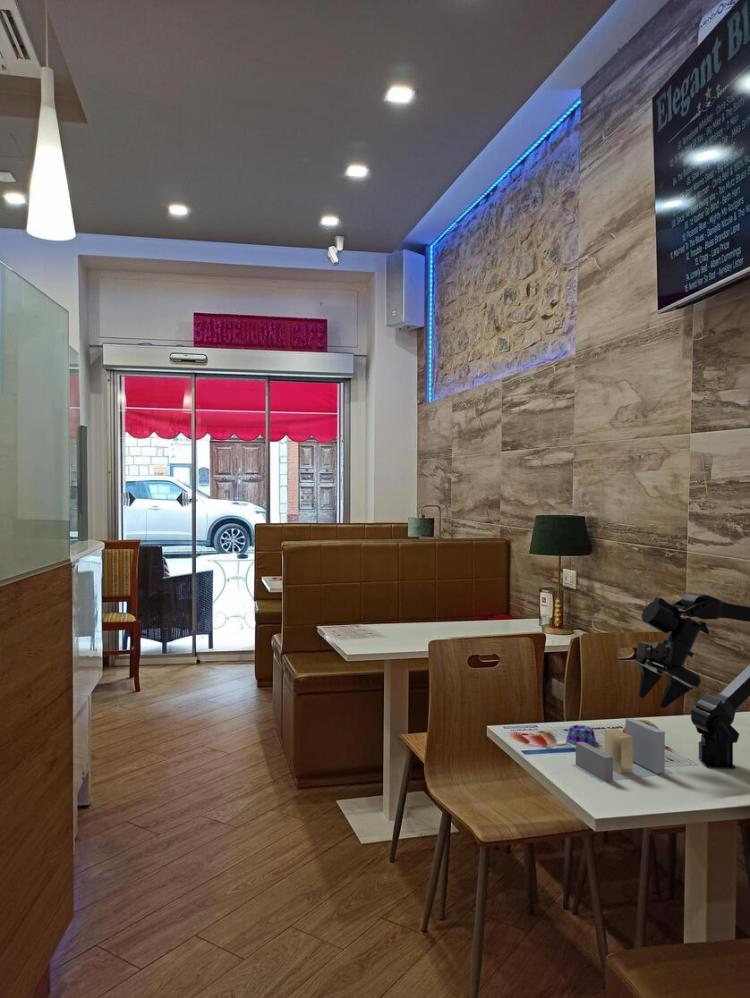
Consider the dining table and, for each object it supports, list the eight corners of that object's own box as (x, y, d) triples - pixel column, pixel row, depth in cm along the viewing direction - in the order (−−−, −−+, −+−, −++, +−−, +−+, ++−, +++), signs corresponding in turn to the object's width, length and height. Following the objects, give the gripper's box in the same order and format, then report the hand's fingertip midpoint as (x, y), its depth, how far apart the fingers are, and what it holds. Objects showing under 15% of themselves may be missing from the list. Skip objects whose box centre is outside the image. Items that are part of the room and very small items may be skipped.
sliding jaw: (632, 756, 174) (632, 718, 175) (664, 772, 164) (664, 731, 164) (625, 757, 174) (625, 719, 174) (657, 773, 163) (657, 732, 164)
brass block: (615, 764, 170) (615, 729, 170) (632, 773, 164) (632, 736, 164) (604, 765, 169) (604, 730, 169) (621, 774, 163) (621, 738, 164)
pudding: (611, 746, 189) (611, 725, 189) (599, 759, 179) (599, 737, 179) (564, 738, 195) (564, 718, 195) (550, 751, 185) (550, 729, 185)
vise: (641, 763, 175) (641, 735, 175) (673, 779, 165) (673, 750, 165) (571, 771, 169) (571, 742, 169) (600, 788, 159) (601, 758, 159)
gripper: (631, 620, 182) (603, 677, 181) (674, 633, 164) (643, 696, 162) (668, 641, 184) (640, 698, 182) (714, 655, 165) (684, 719, 164)
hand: (650, 702), depth 173 cm, fingers open, 9 cm apart
